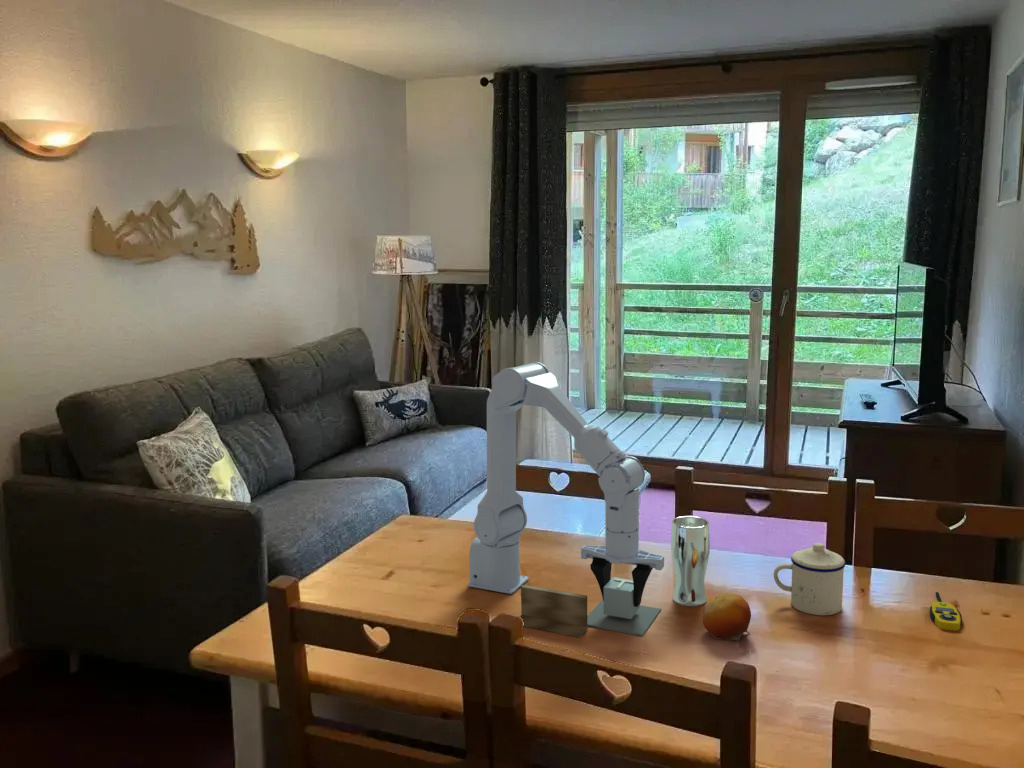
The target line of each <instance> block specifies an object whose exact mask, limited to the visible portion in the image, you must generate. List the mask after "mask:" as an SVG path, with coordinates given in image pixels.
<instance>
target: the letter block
mask: <svg viewBox="0 0 1024 768" xmlns="http://www.w3.org/2000/svg"><path fill="white" fill-rule="evenodd" d="M633 596H634V585H633V579H630V578H629V579H628V578H622V577H617V576H612V577H611V579H610V581H609V582H608V583H607V584H606V585H605V586H604V614H605V615H611V616H616V617H622V618H627V619H632V617H633V616H634V615H635V613H636V612H637V611H638V609H639V608H640V605H641V604H640V605H639V606H638V607H634V603H633Z"/></svg>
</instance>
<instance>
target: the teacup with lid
mask: <svg viewBox="0 0 1024 768" xmlns="http://www.w3.org/2000/svg"><path fill="white" fill-rule="evenodd" d="M790 561H791V563H792V564H791V563H781V564H778V565H777V566H776V567H775V568H774V571H773V580H774V582H775V584H776V585H777V587H778V588H779V589H781V590H783V591H786V592H790V593H791V594H790V603H791V605H792V606H793V607H794V608H795V609H796V610H798V611H800V612H802V613H805V614H809V615H814V616H831V615H835V614H838V613H839V612H840V611H841V610H842V609H843V587H844V569H845V567H846V561H845V559H844V558H843V557H842V555H840V554H838V553H836V552H834V551H831V550H830V549H827V548H825V544H824V543H821V542H814V543H813V544H812V546H811V547H808V548H802V549H799V550H797V551H795V552H794V553H793V554H792V555H791V557H790ZM781 570H792V571H791V586H789V585H785V584H784V583H782V582H781V581H780V579H779V575H778V573H779V571H781Z"/></svg>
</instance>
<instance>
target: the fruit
mask: <svg viewBox="0 0 1024 768" xmlns="http://www.w3.org/2000/svg"><path fill="white" fill-rule="evenodd" d="M706 602H707V603H706V604H705V606H704V609H703V612H702V614H703V615H702V619H701V620H702V625H703V627H704V629H705V630H706V631H707V632H708V633H709V634H710V635H711V636H712V637H714V638H715V639H718V640H722V641H723V640H724V641H726V640H727V641H728V640H729V641H730V640H734V641H738V642H740V638H741V637H742V636H743V634H744V633H747V634H749V635H751V633H750V632H749V631H748V628H749V625H750V623H751V619H752V611H751V607H750V605H749V603H748V601H747V600H746V599H745V598H744V597H743V596H741V595H740V594H737V593H731V592H729V593H728V592H727V593H722V594H719V595H718V596H715V597H714V598H711V599H709V600H708V601H706Z"/></svg>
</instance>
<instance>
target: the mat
mask: <svg viewBox="0 0 1024 768" xmlns="http://www.w3.org/2000/svg"><path fill="white" fill-rule="evenodd" d="M661 611H662V608H659V607H658V608H657V607H652V606H646V605H641V604H640V608H639V609H638V611H637V612H636V613H635V615H634V616H633V617H632V619H627V618H622V617H616V616H611V615H605V614H604V601H603V598H602V599H601V600H600V602H599V603H598V604H597V605H596V606H595V607H594V608H593V609H592V611H591V612H590V613H589V614H587V627H591V628H597V629H601V630H602V629H603V630H607V631H612V632H617V633H624V634H628V635H634V636H639V637H644V635H645V634H646V632H647V631H648V630H649V628H650V627H651V625H652V624H653V623H652V622H654V621H655V620H656V618H657V617H658V615H660V613H661Z"/></svg>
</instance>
